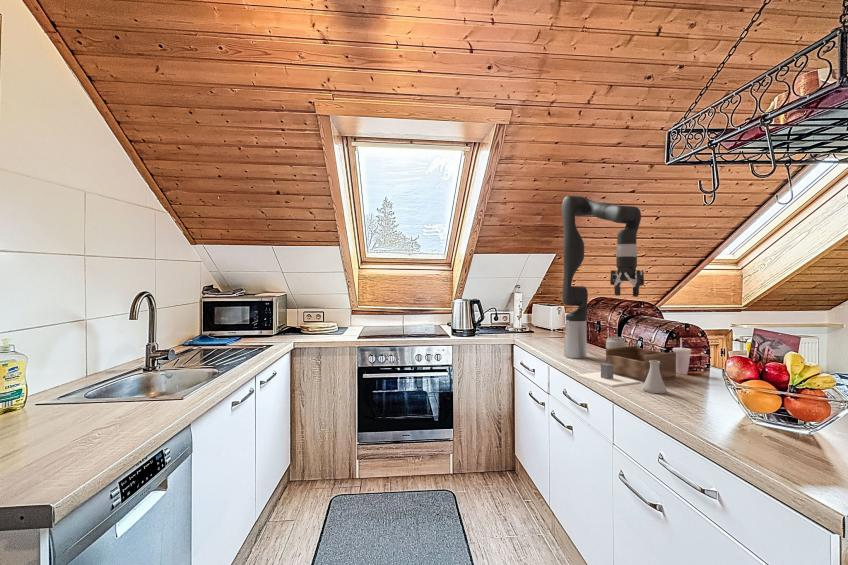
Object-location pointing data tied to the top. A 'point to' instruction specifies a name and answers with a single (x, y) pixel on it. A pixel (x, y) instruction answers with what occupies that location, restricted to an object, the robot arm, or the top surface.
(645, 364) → the walnut box
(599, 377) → the lid
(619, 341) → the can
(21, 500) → the top surface
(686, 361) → the smoothie
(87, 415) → the top surface
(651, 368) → the flask
